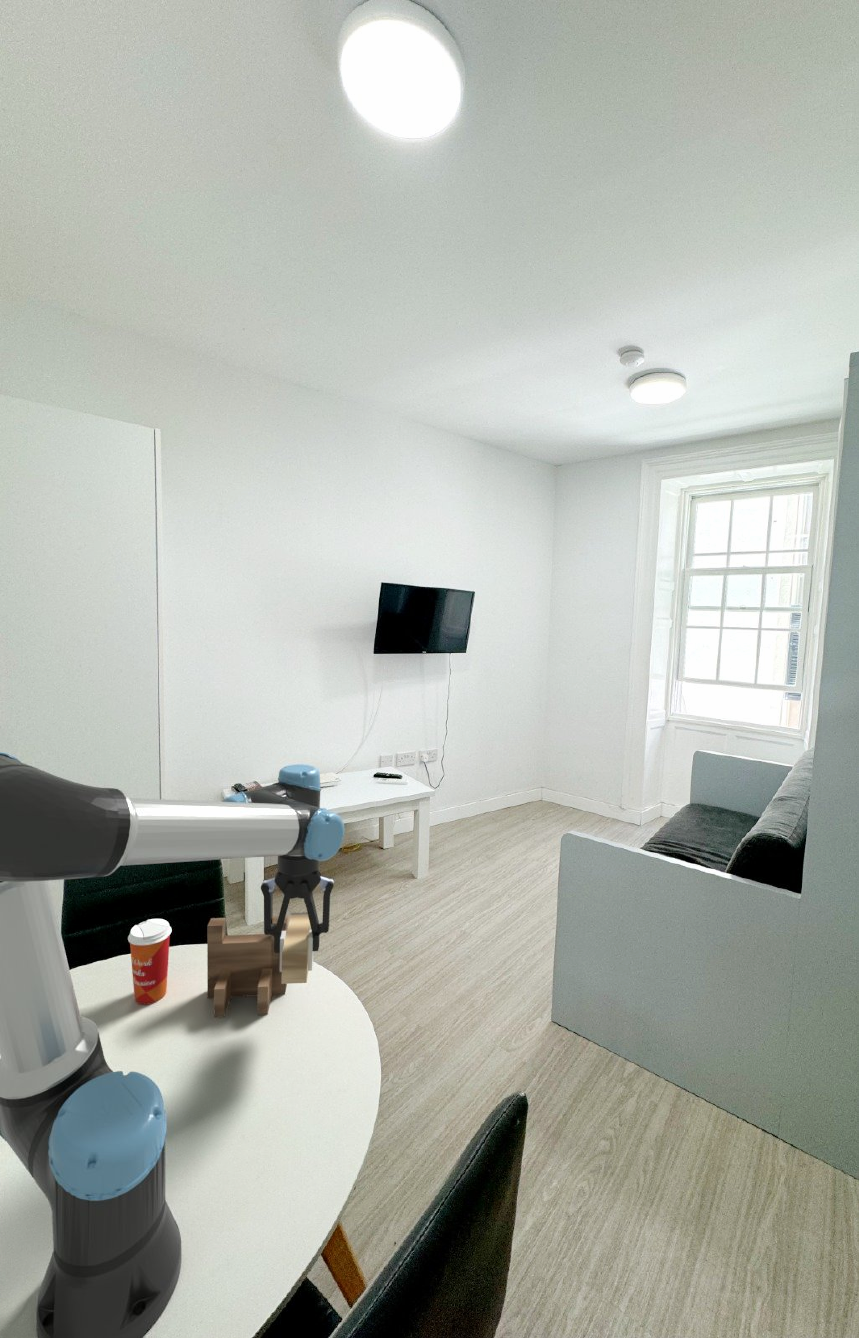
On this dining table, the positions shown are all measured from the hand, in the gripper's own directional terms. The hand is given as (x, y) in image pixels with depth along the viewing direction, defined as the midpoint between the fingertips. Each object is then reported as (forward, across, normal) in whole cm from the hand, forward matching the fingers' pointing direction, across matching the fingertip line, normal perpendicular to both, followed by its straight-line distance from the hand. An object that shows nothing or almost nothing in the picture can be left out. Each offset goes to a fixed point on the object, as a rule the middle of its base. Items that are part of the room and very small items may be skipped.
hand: (296, 966), depth 107 cm
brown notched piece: (+14, +12, -12) cm, 22 cm away
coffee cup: (+15, +32, -15) cm, 38 cm away
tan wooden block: (0, 0, -2) cm, 2 cm away
